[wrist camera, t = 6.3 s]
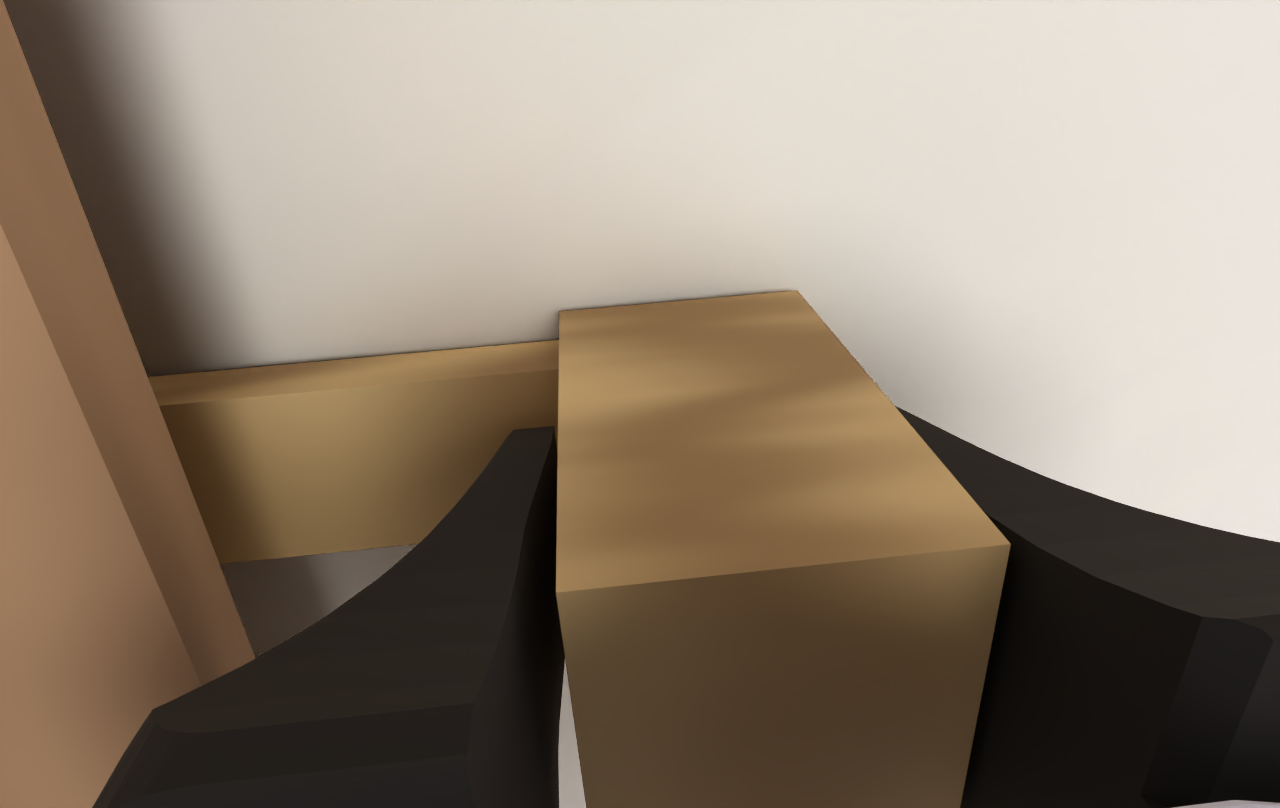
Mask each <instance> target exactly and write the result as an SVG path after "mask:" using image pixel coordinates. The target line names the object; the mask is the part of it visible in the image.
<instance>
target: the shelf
mask: <svg viewBox="0 0 1280 808" xmlns="http://www.w3.org/2000/svg"><path fill="white" fill-rule="evenodd" d="M254 659H256V658H255V655H254V653H253V650H252V647H251V645H250V642H249V640H248V637H247V634H246V632H245V629H244V627H243V624H242V621H241V619H240V616H239V614H238V611H237V608H236V606H235V603H234V601H233V598H232V595H231V593H230V590H229V588H228V585H227V582H226V580H225V577H224V574H223V572H222V569H221V567H220V564H219V561H218V559H217V556H216V554H215V551H214V548H213V546H212V543H211V541H210V538H209V535H208V533H207V530H206V528H205V525H204V522H203V520H202V517H201V515H200V512H199V509H198V507H197V504H196V502H195V499H194V496H193V494H192V491H191V489H190V486H189V483H188V481H187V478H186V476H185V473H184V470H183V468H182V465H181V463H180V460H179V457H178V455H177V452H176V449H175V447H174V444H173V442H172V439H171V436H170V434H169V431H168V429H167V426H166V423H165V421H164V418H163V416H162V413H161V410H160V408H159V405H158V403H157V400H156V397H155V395H154V392H153V390H152V387H151V384H150V382H149V379H148V377H147V374H146V371H145V369H144V366H143V364H142V361H141V358H140V356H139V353H138V351H137V348H136V345H135V343H134V340H133V338H132V335H131V332H130V330H129V327H128V324H127V322H126V319H125V317H124V314H123V311H122V309H121V306H120V304H119V301H118V298H117V296H116V293H115V291H114V288H113V285H112V283H111V280H110V278H109V275H108V272H107V270H106V267H105V265H104V262H103V259H102V257H101V254H100V252H99V249H98V246H97V244H96V241H95V239H94V236H93V233H92V231H91V228H90V226H89V223H88V220H87V218H86V215H85V213H84V210H83V207H82V205H81V202H80V199H79V197H78V194H77V192H76V189H75V186H74V184H73V181H72V179H71V176H70V173H69V171H68V168H67V166H66V163H65V160H64V158H63V155H62V153H61V150H60V147H59V145H58V142H57V140H56V137H55V134H54V132H53V129H52V127H51V124H50V121H49V119H48V116H47V114H46V111H45V108H44V106H43V103H42V101H41V98H40V95H39V93H38V90H37V88H36V85H35V82H34V80H33V77H32V74H31V72H30V69H29V67H28V64H27V61H26V59H25V56H24V54H23V51H22V48H21V46H20V43H19V41H18V38H17V35H16V33H15V30H14V28H13V25H12V22H11V20H10V17H9V15H8V12H7V9H6V7H5V4H4V2H3V0H0V808H92V807H93V805H94V804H95V802H96V800H97V798H98V797H99V795H100V793H101V791H102V790H103V788H104V786H105V785H106V783H107V781H108V779H109V778H110V776H111V774H112V772H113V771H114V769H115V767H116V765H117V764H118V762H119V760H120V759H121V757H122V755H123V753H124V752H125V750H126V749H127V747H128V746H129V744H130V743H131V741H132V739H133V738H134V736H135V735H136V733H137V732H138V730H139V729H140V727H141V726H142V724H143V723H144V721H145V720H146V718H147V717H148V715H149V714H150V712H151V711H152V709H154V708H156V707H158V706H161V705H163V704H165V703H167V702H170V701H172V700H174V699H176V698H178V697H180V696H182V695H184V694H186V693H188V692H190V691H192V690H194V689H196V688H198V687H200V686H202V685H204V684H206V683H208V682H210V681H212V680H215V679H217V678H219V677H221V676H223V675H225V674H227V673H229V672H231V671H233V670H235V669H237V668H239V667H241V666H243V665H245V664H246V663H248V662H250V661H252V660H254Z"/></svg>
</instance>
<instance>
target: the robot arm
mask: <svg viewBox="0 0 1280 808" xmlns="http://www.w3.org/2000/svg"><path fill="white" fill-rule="evenodd" d="M895 407H896V406H895ZM896 408H897V409H898V411H899V412H900V413H901V414H902V415H903V417H904V418H905V419H906V420H907V421H908V423H909V424H910V425H911V426H912V427H913V428H914V430H915V431H916V432H917V433H918V434H919V436H920V437H921V438H922V439H923V440H924V442H925V443H926V444H927V445H928V446H929V448H930V449H931V450H932V451H933V452H934V453H935V455H936V456H937V457H938V458H939V459H940V461H941V462H942V463H943V464H944V465H945V467H946V468H947V469H948V470H949V471H950V472H951V474H952V475H953V476H954V477H955V478H956V480H957V481H958V482H959V483H960V484H961V486H962V487H963V488H964V489H965V490H966V491H967V493H968V494H969V495H970V496H971V497H972V499H973V500H974V501H975V502H976V503H977V505H978V506H979V507H980V508H981V509H982V511H983V512H984V513H985V514H986V515H987V516H988V518H989V519H990V520H991V521H992V522H993V524H994V525H995V526H996V527H997V528H998V530H999V531H1000V532H1001V533H1002V534H1003V535H1004V537H1005V538H1006V539H1007V540H1008V541H1009V543H1010V544H1011V546H1010V551H1009V556H1008V561H1007V566H1006V572H1005V577H1004V582H1003V587H1002V592H1001V598H1000V603H999V608H998V613H997V618H996V624H995V629H994V634H993V639H992V644H991V650H990V655H989V660H988V665H987V670H986V675H985V681H984V686H983V691H982V696H981V701H980V707H979V712H978V717H977V722H976V727H975V733H974V738H973V743H972V748H971V753H970V759H969V764H968V769H967V774H966V779H965V785H964V790H963V795H962V800H961V805H960V808H1280V543H1279V542H1274V541H1269V540H1264V539H1259V538H1254V537H1249V536H1244V535H1240V534H1235V533H1231V532H1226V531H1222V530H1218V529H1213V528H1209V527H1205V526H1200V525H1197V524H1193V523H1189V522H1185V521H1182V520H1178V519H1174V518H1171V517H1167V516H1163V515H1159V514H1156V513H1152V512H1148V511H1145V510H1141V509H1138V508H1135V507H1131V506H1128V505H1125V504H1121V503H1118V502H1115V501H1112V500H1109V499H1106V498H1103V497H1100V496H1097V495H1095V494H1092V493H1089V492H1086V491H1083V490H1080V489H1077V488H1074V487H1071V486H1069V485H1066V484H1063V483H1061V482H1058V481H1055V480H1053V479H1050V478H1047V477H1045V476H1042V475H1040V474H1038V473H1035V472H1033V471H1031V470H1028V469H1026V468H1024V467H1021V466H1019V465H1017V464H1014V463H1012V462H1010V461H1007V460H1005V459H1003V458H1000V457H998V456H996V455H994V454H992V453H990V452H987V451H985V450H983V449H981V448H979V447H977V446H975V445H973V444H971V443H968V442H966V441H964V440H962V439H960V438H958V437H956V436H954V435H952V434H950V433H948V432H946V431H944V430H942V429H940V428H938V427H936V426H934V425H932V424H930V423H928V422H926V421H924V420H922V419H920V418H918V417H916V416H914V415H912V414H910V413H908V412H906V411H904V410H902V409H900V408H898V407H896ZM557 466H558V453H557V445H556V437H555V429H554V426H547V427H537V428H526V429H515V430H513V431H512V432H511V433H510V434H509V435H508V436H507V438H506V439H505V440H504V442H503V443H502V445H501V446H500V448H499V449H498V450H497V452H496V453H495V455H494V456H493V457H492V459H491V460H490V462H489V463H488V464H487V466H486V467H485V468H484V470H483V471H482V472H481V474H480V475H479V476H478V478H477V479H476V480H475V481H474V483H473V484H472V485H471V486H470V488H469V489H468V490H467V491H466V493H465V494H464V495H463V496H462V498H461V499H460V500H459V501H458V502H457V504H456V505H455V506H454V507H453V508H452V509H451V510H450V511H449V513H448V514H447V515H446V516H445V517H444V518H443V519H442V520H441V521H440V522H439V523H438V525H437V526H436V527H435V528H434V529H433V530H432V531H431V532H430V533H429V534H428V535H427V536H426V537H425V538H424V539H423V540H422V541H421V542H420V543H419V544H418V545H417V546H416V547H415V548H414V549H413V550H411V551H410V552H409V553H408V554H407V555H406V556H405V557H403V558H402V559H401V560H400V561H399V562H398V563H396V564H395V565H394V566H393V567H392V568H391V569H389V570H388V571H387V572H386V573H385V574H383V575H382V576H381V577H380V578H378V579H377V580H376V581H374V582H373V583H372V584H370V585H369V586H367V587H366V588H365V589H363V590H362V591H361V592H359V593H358V594H356V595H355V596H354V597H352V598H351V599H350V600H348V601H347V602H345V603H344V604H343V605H341V606H340V607H338V608H337V609H336V610H334V611H333V612H332V613H330V614H329V615H327V616H326V617H324V618H323V619H321V620H320V621H318V622H316V623H315V624H313V625H312V626H310V627H308V628H307V629H305V630H304V631H302V632H300V633H299V634H297V635H296V636H294V637H292V638H291V639H289V640H287V641H285V642H284V643H282V644H280V645H278V646H277V647H275V648H273V649H272V650H270V651H268V652H266V653H265V654H263V655H261V656H259V657H257V658H256V659H254V660H252V661H250V662H248V663H246V664H245V665H243V666H241V667H239V668H237V669H235V670H233V671H231V672H229V673H227V674H225V675H223V676H221V677H219V678H217V679H215V680H212V681H210V682H208V683H206V684H204V685H202V686H200V687H198V688H196V689H194V690H192V691H190V692H188V693H186V694H184V695H182V696H180V697H178V698H176V699H174V700H172V701H170V702H167V703H165V704H163V705H161V706H158V707H156V708H154V709H152V711H151V712H150V714H149V715H148V717H147V718H146V720H145V721H144V723H143V724H142V726H141V727H140V729H139V730H138V732H137V733H136V735H135V736H134V738H133V739H132V741H131V743H130V744H129V746H128V747H127V749H126V750H125V752H124V753H123V755H122V757H121V759H120V760H119V762H118V764H117V765H116V767H115V769H114V771H113V772H112V774H111V776H110V778H109V779H108V781H107V783H106V785H105V786H104V788H103V790H102V791H101V793H100V795H99V797H98V798H97V800H96V802H95V804H94V805H93V807H92V808H559V776H558V743H559V720H560V708H561V697H562V685H563V673H564V662H565V653H564V646H563V639H562V632H561V625H560V618H559V611H558V604H557V597H556V546H557Z"/></svg>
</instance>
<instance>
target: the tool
mask: <svg viewBox="0 0 1280 808" xmlns="http://www.w3.org/2000/svg"><path fill="white" fill-rule="evenodd" d="M148 379H149V382H150V384H151V387H152V390H153V392H154V395H155V397H156V400H157V403H158V405H159V408H160V410H161V413H162V416H163V418H164V421H165V423H166V426H167V429H168V431H169V434H170V436H171V439H172V442H173V444H174V447H175V449H176V452H177V455H178V457H179V460H180V463H181V465H182V468H183V470H184V473H185V476H186V478H187V481H188V483H189V486H190V489H191V491H192V494H193V496H194V499H195V502H196V504H197V507H198V509H199V512H200V515H201V517H202V520H203V522H204V525H205V528H206V530H207V533H208V535H209V538H210V541H211V543H212V546H213V548H214V551H215V554H216V556H217V559H218V561H219V564H227V563H236V562H246V561H256V560H266V559H275V558H285V557H295V556H305V555H314V554H324V553H334V552H344V551H353V550H363V549H373V548H383V547H392V546H402V545H412V544H419V543H420V542H421V541H422V540H423V539H424V538H425V537H426V536H427V535H428V534H429V533H430V532H431V531H432V530H433V529H434V528H435V527H436V526H437V525H438V523H439V522H440V521H441V520H442V519H443V518H444V517H445V516H446V515H447V514H448V513H449V511H450V510H451V509H452V508H453V507H454V506H455V505H456V504H457V502H458V501H459V500H460V499H461V498H462V496H463V495H464V494H465V493H466V491H467V490H468V489H469V488H470V486H471V485H472V484H473V483H474V481H475V480H476V479H477V478H478V476H479V475H480V474H481V472H482V471H483V470H484V468H485V467H486V466H487V464H488V463H489V462H490V460H491V459H492V457H493V456H494V455H495V453H496V452H497V450H498V449H499V448H500V446H501V445H502V443H503V442H504V440H505V439H506V438H507V436H508V435H509V434H510V433H511V432H512V431H513V430H515V429H526V428H537V427H547V426H554V429H555V437H556V445H557V453H558V466H557V546H556V597H557V604H558V611H559V618H560V625H561V632H562V639H563V646H564V653H565V660H566V667H567V674H568V681H569V689H570V696H571V703H572V710H573V717H574V724H575V731H576V738H577V745H578V752H579V759H580V766H581V773H582V780H583V787H584V794H585V801H586V808H960V805H961V800H962V795H963V790H964V785H965V779H966V774H967V769H968V764H969V759H970V753H971V748H972V743H973V738H974V733H975V727H976V722H977V717H978V712H979V707H980V701H981V696H982V691H983V686H984V681H985V675H986V670H987V665H988V660H989V655H990V650H991V644H992V639H993V634H994V629H995V624H996V618H997V613H998V608H999V603H1000V598H1001V592H1002V587H1003V582H1004V577H1005V572H1006V566H1007V561H1008V556H1009V551H1010V546H1011V544H1010V543H1009V541H1008V540H1007V539H1006V538H1005V537H1004V535H1003V534H1002V533H1001V532H1000V531H999V530H998V528H997V527H996V526H995V525H994V524H993V522H992V521H991V520H990V519H989V518H988V516H987V515H986V514H985V513H984V512H983V511H982V509H981V508H980V507H979V506H978V505H977V503H976V502H975V501H974V500H973V499H972V497H971V496H970V495H969V494H968V493H967V491H966V490H965V489H964V488H963V487H962V486H961V484H960V483H959V482H958V481H957V480H956V478H955V477H954V476H953V475H952V474H951V472H950V471H949V470H948V469H947V468H946V467H945V465H944V464H943V463H942V462H941V461H940V459H939V458H938V457H937V456H936V455H935V453H934V452H933V451H932V450H931V449H930V448H929V446H928V445H927V444H926V443H925V442H924V440H923V439H922V438H921V437H920V436H919V434H918V433H917V432H916V431H915V430H914V428H913V427H912V426H911V425H910V424H909V423H908V421H907V420H906V419H905V418H904V417H903V415H902V414H901V413H900V412H899V411H898V409H897V408H896V407H895V406H894V405H893V404H892V402H891V401H890V400H889V399H888V398H887V396H886V395H885V394H884V393H883V392H882V390H881V389H880V388H879V387H878V386H877V385H876V383H875V382H874V381H873V380H872V379H871V377H870V376H869V375H868V374H867V373H866V371H865V370H864V369H863V368H862V367H861V366H860V364H859V363H858V362H857V361H856V360H855V358H854V357H853V356H852V355H851V354H850V352H849V351H848V350H847V349H846V348H845V346H844V345H843V344H842V343H841V342H840V341H839V339H838V338H837V337H836V336H835V335H834V333H833V332H832V331H831V330H830V329H829V327H828V326H827V325H826V324H825V323H824V322H823V320H822V319H821V318H820V317H819V316H818V314H817V313H816V312H815V311H814V310H813V308H812V307H811V306H810V305H809V304H808V303H807V301H806V300H805V299H804V298H803V297H802V295H801V294H800V293H799V292H798V291H786V292H775V293H763V294H752V295H741V296H730V297H718V298H707V299H696V300H684V301H673V302H662V303H650V304H639V305H628V306H616V307H605V308H594V309H582V310H571V311H560V312H559V340H552V341H541V342H530V343H519V344H508V345H497V346H485V347H474V348H463V349H452V350H441V351H430V352H419V353H408V354H397V355H386V356H375V357H364V358H352V359H341V360H330V361H319V362H308V363H297V364H286V365H275V366H264V367H253V368H242V369H230V370H219V371H208V372H197V373H186V374H175V375H164V376H153V377H148Z"/></svg>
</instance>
